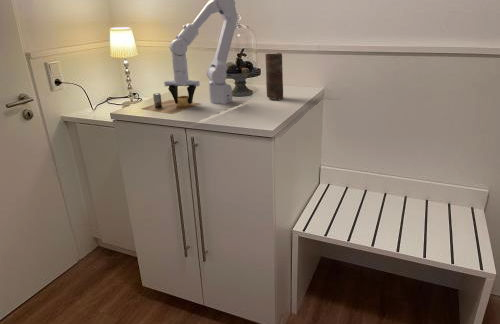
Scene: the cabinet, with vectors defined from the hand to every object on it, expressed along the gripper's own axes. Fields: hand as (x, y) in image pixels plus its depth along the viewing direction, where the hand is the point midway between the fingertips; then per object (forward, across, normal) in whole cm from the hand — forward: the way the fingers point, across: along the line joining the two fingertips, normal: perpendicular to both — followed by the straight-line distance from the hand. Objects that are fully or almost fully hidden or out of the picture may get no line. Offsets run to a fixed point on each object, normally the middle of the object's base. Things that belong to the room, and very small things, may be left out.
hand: (183, 103), depth 158 cm
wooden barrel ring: (+1, 0, 0) cm, 1 cm away
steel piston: (+2, +10, +3) cm, 11 cm away
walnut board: (+2, +5, +2) cm, 6 cm away
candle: (+2, -37, -17) cm, 40 cm away
